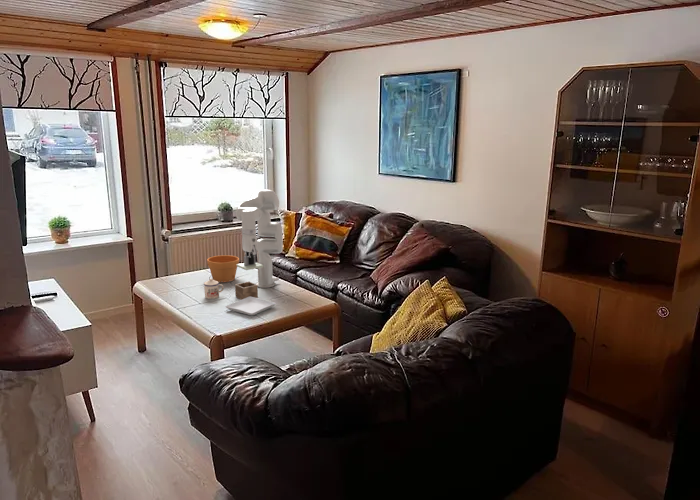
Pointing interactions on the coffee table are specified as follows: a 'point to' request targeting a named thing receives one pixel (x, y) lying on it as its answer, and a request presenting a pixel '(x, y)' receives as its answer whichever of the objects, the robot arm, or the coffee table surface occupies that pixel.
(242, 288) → the crate
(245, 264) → the lid
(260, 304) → the salad plate
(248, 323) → the coffee table surface
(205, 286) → the teacup with lid
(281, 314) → the coffee table surface
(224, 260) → the flower pot
